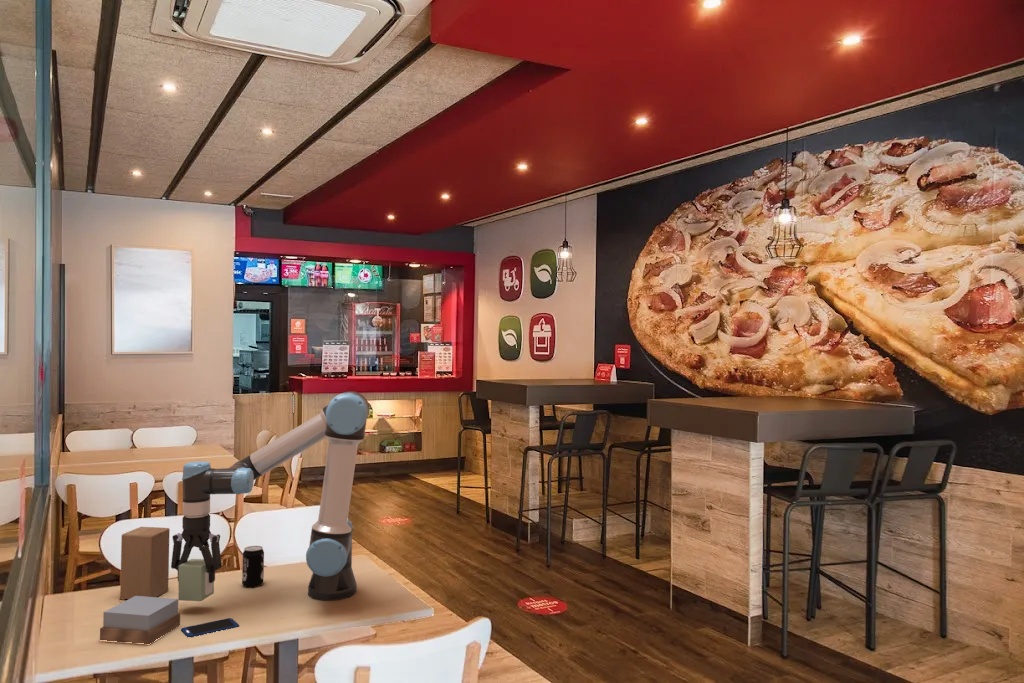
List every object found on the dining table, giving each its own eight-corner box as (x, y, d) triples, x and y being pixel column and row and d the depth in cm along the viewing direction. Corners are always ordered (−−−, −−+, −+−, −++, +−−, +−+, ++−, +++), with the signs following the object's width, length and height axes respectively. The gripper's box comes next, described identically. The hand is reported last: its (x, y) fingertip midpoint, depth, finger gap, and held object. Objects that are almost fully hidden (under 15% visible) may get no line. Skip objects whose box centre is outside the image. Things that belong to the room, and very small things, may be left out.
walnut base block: (179, 627, 208) (180, 612, 208) (149, 647, 194) (149, 631, 194) (133, 623, 209) (133, 609, 209) (99, 643, 195) (100, 628, 195)
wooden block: (168, 590, 236) (170, 527, 236) (150, 601, 226) (151, 535, 226) (139, 589, 237) (140, 526, 237) (119, 599, 227) (120, 534, 227)
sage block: (213, 593, 222) (213, 559, 222) (201, 601, 215) (201, 566, 215) (191, 592, 223) (191, 558, 223) (178, 600, 216) (178, 565, 216)
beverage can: (259, 588, 240) (260, 551, 240) (238, 587, 240) (239, 550, 240) (266, 581, 246) (267, 545, 246) (246, 581, 246) (247, 545, 246)
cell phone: (180, 630, 204) (180, 628, 204) (231, 620, 213) (231, 617, 213) (188, 639, 199) (188, 636, 199) (240, 627, 207) (240, 625, 207)
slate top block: (177, 613, 207) (178, 599, 207) (148, 631, 194) (148, 615, 194) (135, 610, 209) (135, 595, 209) (103, 627, 196) (103, 612, 196)
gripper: (234, 512, 222) (234, 589, 221) (171, 511, 224) (171, 587, 224) (222, 518, 214) (222, 598, 214) (157, 516, 216) (157, 595, 216)
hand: (196, 592), depth 219 cm, fingers closed on sage block, 7 cm apart
